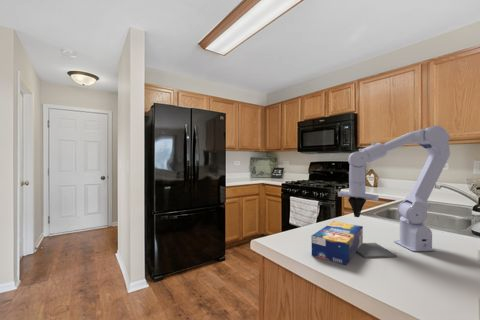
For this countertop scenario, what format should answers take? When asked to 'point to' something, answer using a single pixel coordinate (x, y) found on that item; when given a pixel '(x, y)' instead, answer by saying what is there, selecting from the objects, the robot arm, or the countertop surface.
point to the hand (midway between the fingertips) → (357, 216)
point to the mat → (374, 251)
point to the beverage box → (337, 242)
